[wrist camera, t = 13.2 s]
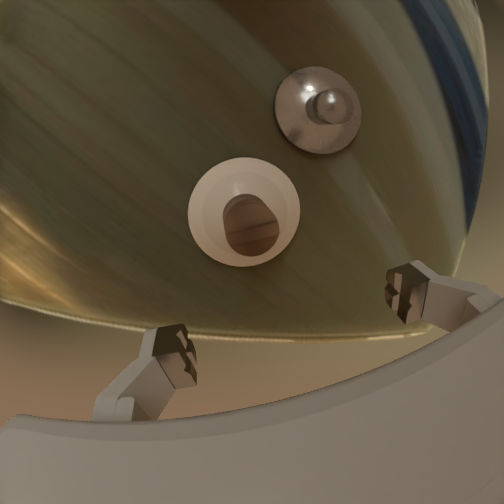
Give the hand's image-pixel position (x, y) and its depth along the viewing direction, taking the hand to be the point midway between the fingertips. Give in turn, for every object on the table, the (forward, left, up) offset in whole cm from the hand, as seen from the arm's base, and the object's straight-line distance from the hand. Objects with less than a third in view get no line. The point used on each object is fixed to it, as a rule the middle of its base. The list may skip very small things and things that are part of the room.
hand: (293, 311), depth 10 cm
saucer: (+1, +2, -21) cm, 21 cm away
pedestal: (-13, 0, -21) cm, 25 cm away
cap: (+1, +2, -20) cm, 20 cm away
